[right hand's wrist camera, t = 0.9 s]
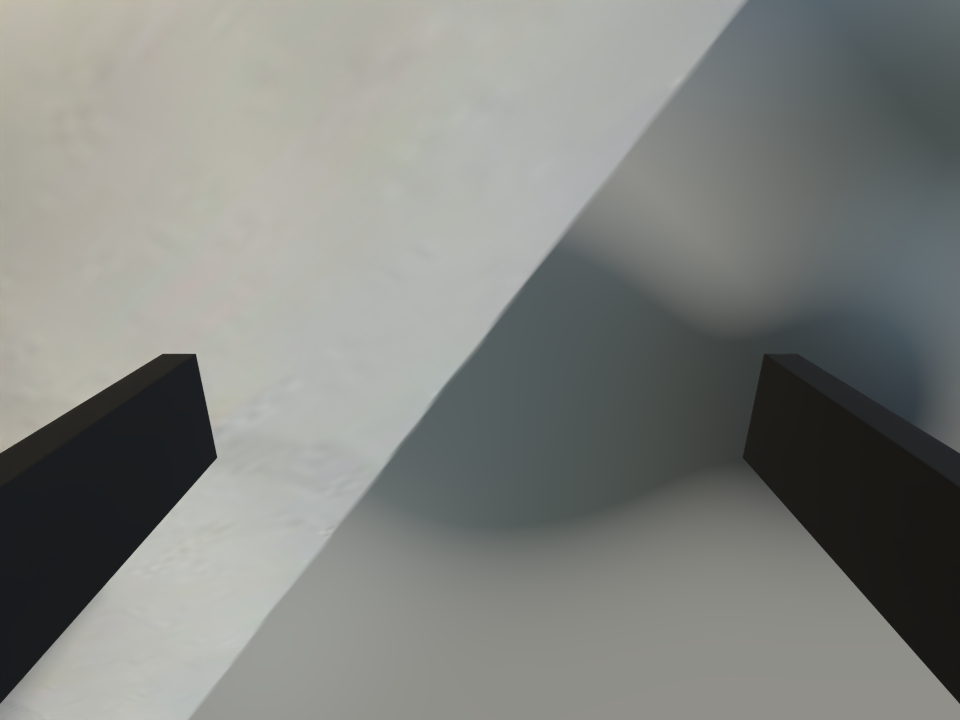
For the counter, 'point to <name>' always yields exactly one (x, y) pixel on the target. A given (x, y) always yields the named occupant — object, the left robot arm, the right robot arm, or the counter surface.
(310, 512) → the counter surface
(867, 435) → the right robot arm
